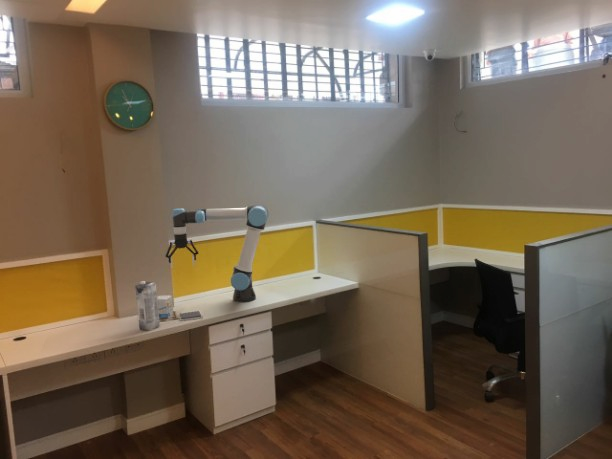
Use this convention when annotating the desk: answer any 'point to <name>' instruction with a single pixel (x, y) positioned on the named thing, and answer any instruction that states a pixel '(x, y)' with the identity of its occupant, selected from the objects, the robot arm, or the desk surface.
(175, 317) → the print board
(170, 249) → the robot arm
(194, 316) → the ink pad
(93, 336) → the desk surface
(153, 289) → the juice carton
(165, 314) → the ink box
